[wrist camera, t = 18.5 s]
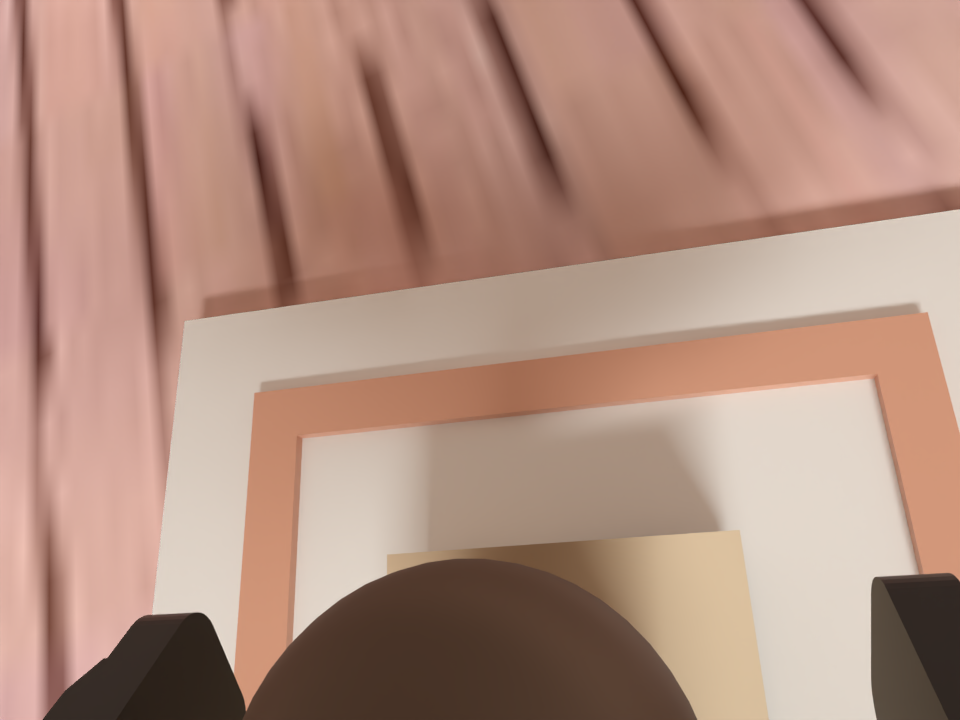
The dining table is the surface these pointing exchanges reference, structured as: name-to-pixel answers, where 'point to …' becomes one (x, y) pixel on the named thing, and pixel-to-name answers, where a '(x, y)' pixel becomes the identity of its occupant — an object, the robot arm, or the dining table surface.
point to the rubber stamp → (534, 637)
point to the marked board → (587, 436)
